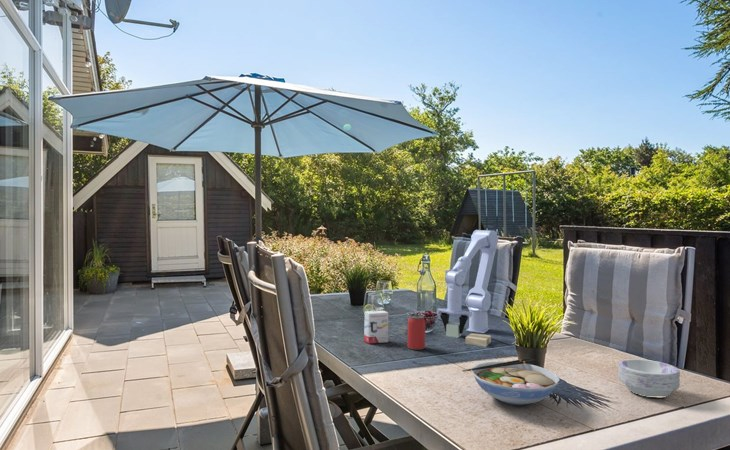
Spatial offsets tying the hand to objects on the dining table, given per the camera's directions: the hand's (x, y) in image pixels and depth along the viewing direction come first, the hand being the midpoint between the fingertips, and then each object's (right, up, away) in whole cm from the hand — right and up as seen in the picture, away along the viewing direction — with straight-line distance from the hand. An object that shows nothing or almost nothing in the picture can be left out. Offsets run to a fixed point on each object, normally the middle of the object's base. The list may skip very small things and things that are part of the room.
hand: (453, 332), depth 202 cm
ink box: (-33, -1, -12) cm, 35 cm away
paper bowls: (+44, -4, -63) cm, 77 cm away
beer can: (-18, -2, -20) cm, 27 cm away
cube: (0, -2, 0) cm, 2 cm away
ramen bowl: (+3, -3, -70) cm, 71 cm away
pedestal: (+8, -2, -11) cm, 14 cm away
